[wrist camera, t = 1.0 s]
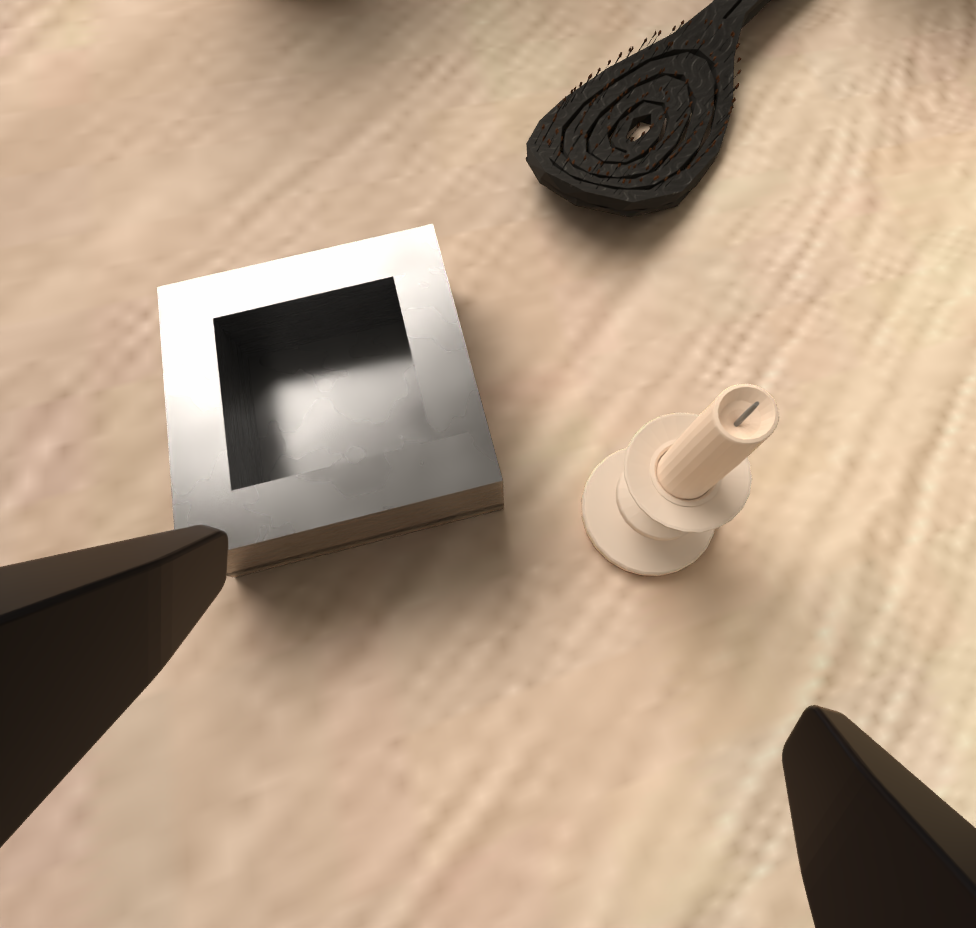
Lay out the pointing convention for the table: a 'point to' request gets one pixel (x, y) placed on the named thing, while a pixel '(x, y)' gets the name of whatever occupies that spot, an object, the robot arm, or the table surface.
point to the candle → (677, 482)
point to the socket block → (323, 402)
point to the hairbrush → (645, 118)
